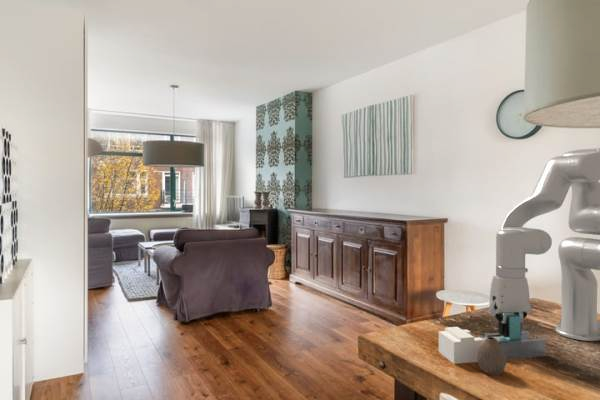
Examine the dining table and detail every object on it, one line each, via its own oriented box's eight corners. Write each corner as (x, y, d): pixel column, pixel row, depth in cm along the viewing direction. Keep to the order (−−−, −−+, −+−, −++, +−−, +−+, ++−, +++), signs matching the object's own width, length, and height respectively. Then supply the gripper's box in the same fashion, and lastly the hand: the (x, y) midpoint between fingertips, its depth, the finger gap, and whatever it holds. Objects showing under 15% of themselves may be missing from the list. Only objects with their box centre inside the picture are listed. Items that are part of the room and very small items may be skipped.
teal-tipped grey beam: (510, 345, 119) (511, 311, 119) (521, 350, 115) (521, 316, 115) (467, 348, 117) (467, 314, 117) (476, 354, 113) (476, 319, 113)
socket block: (466, 349, 119) (466, 326, 119) (484, 361, 111) (484, 336, 111) (438, 351, 118) (438, 328, 118) (453, 363, 110) (454, 338, 109)
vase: (472, 366, 108) (472, 334, 108) (496, 365, 109) (496, 333, 108) (485, 378, 101) (485, 343, 101) (512, 377, 102) (512, 342, 102)
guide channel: (526, 345, 122) (526, 330, 122) (546, 355, 114) (546, 340, 114) (484, 348, 120) (484, 333, 120) (501, 359, 112) (501, 343, 112)
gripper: (526, 268, 121) (526, 329, 122) (476, 271, 119) (476, 332, 119) (545, 274, 114) (545, 338, 114) (492, 276, 111) (492, 342, 112)
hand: (509, 334), depth 117 cm, fingers closed on teal-tipped grey beam, 3 cm apart
